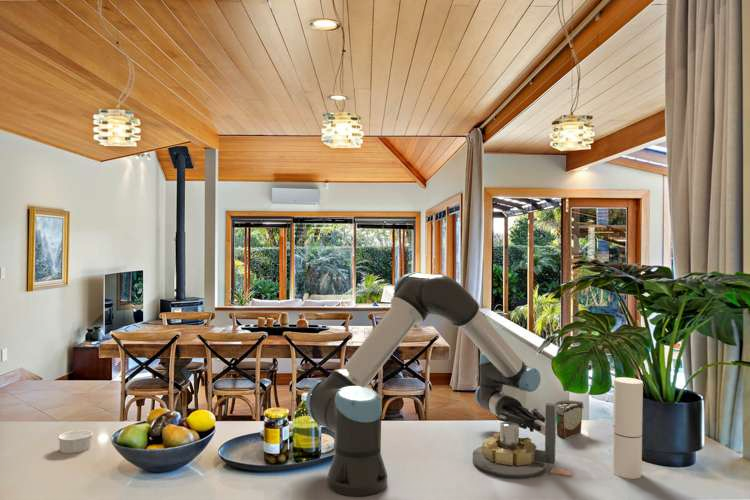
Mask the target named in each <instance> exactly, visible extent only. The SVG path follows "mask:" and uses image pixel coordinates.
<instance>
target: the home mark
mask: <svg viewBox="0 0 750 500" xmlns="http://www.w3.org/2000/svg"><path fill="white" fill-rule="evenodd" d="M550 473H551V474H554V475H559V476H564V477H571V476H572V474H573V472H572V471H570V470H564V469H558V468H552V469H551V471H550Z"/></svg>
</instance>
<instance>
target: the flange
mask: <svg viewBox="0 0 750 500" xmlns="http://www.w3.org/2000/svg"><path fill="white" fill-rule="evenodd" d="M499 424H500V425H499V430H500V432H499V434H500V448H501V449H508V450H516V447H517V446H519V438H520V436H519V434H520V429H519V428H520V427H519V425H518V424H517V423H514V422H504V421H501V422H500V423H499ZM472 464H473V466H474V467H475V468H476V469H478V470H480V471H481V472H483V473H486V474H488V475H491V476H494V477H498V478H504V479H512V480H513V479H514V480H515V479H516V480H523V479H527V480H528V479H532V478H536V477H540V476H542V475H544V474H545V473H546V471H547V467H548V466H547V465H548V463H543V462H537V461H534V462H531V464H525V465H518V466H516V465H515V464H513V466H512V465H506V464H500V463H495V461H490V460H489V459H487V458H486V457H485V456H483V454H482V445H481V446H480V447H477V448H476V449H474V450H473V452H472Z"/></svg>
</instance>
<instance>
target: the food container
mask: <svg viewBox="0 0 750 500" xmlns="http://www.w3.org/2000/svg"><path fill="white" fill-rule="evenodd" d="M554 404H556V436H557V437H559V438H560V439H563V440H568V439H569V438H572V437H575V436H577V435H580V434H581V433H582V423H583V422H582V420H583V410H584V403H583V401H578V400H567V399H565V400H558V401H555V402H554Z"/></svg>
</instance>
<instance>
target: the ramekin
mask: <svg viewBox="0 0 750 500" xmlns="http://www.w3.org/2000/svg"><path fill="white" fill-rule="evenodd" d="M93 433H94V432H93V431H91V430H88V429H76V430H70V431H66V432H63V433H61V434H60V435H58V438H57V439H58V442H59V443H58V444H59V451H60V452H61V453H62V454H67V455H68V454H70V455H71V454H78V453H79V454H80V453H83V452H86V451H88V450H89V449H90V448H91V446H92V440H93V439H92V438H93V435H94V434H93Z"/></svg>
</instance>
